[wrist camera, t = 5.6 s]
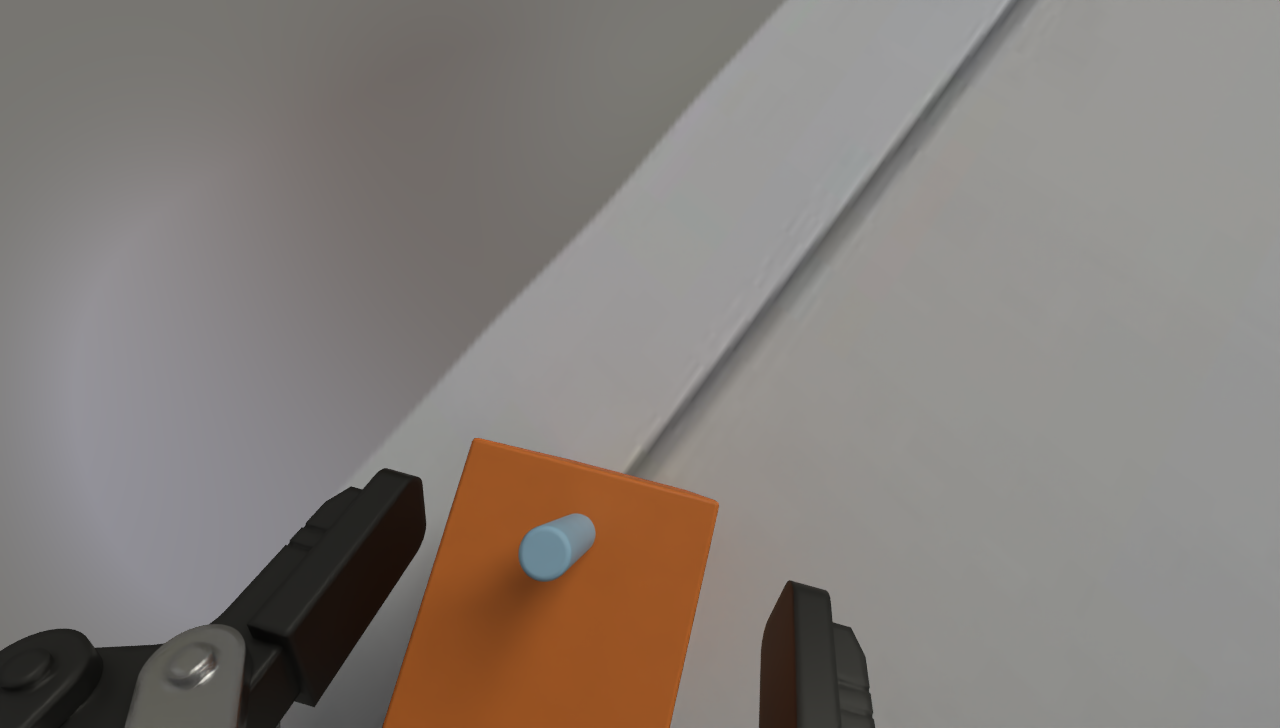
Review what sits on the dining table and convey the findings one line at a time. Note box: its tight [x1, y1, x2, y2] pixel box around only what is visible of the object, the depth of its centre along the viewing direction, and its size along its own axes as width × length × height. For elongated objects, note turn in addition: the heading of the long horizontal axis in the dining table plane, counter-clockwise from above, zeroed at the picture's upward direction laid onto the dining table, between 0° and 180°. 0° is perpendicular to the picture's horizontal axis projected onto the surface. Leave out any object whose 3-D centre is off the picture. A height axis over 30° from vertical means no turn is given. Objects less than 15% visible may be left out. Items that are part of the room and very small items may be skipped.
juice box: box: [382, 438, 719, 728], centre depth 11 cm, size 4×6×11 cm, turn 166°
